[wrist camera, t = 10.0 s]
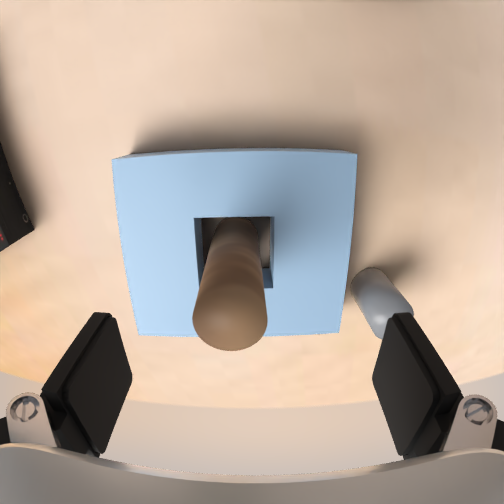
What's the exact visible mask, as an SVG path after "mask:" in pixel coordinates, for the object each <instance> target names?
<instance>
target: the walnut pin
mask: <svg viewBox="0 0 504 504" xmlns="http://www.w3.org/2000/svg"><path fill="white" fill-rule="evenodd" d="M192 322H193V326H194V329H195V331H196V333H197V335H198V336H199V337H200V338H201V339H202V340H203V341H204V342H205V343H207V344H208V345H210V346H212V347H214V348H217V349H220V350H226V351H237V350H242V349H245V348H248V347H250V346H252V345H254V344H255V343H257V342H258V341H259V340H260V339H261V338H262V336H263V335H264V333H265V331H266V328H267V323H268V318H267V309H266V301H265V292H264V284H263V275H262V267H261V258H260V250H259V242H258V234H257V231H256V228H255V227H254V225H253V224H252V223H251V222H250V221H248V220H247V219H245V218H242V217H229V218H226V219H224V220H223V221H221V222H220V223H219V224H218V225H217V227H216V229H215V231H214V235H213V238H212V242H211V246H210V249H209V253H208V257H207V261H206V264H205V268H204V272H203V276H202V280H201V283H200V287H199V291H198V295H197V299H196V303H195V307H194V311H193V316H192Z"/></svg>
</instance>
